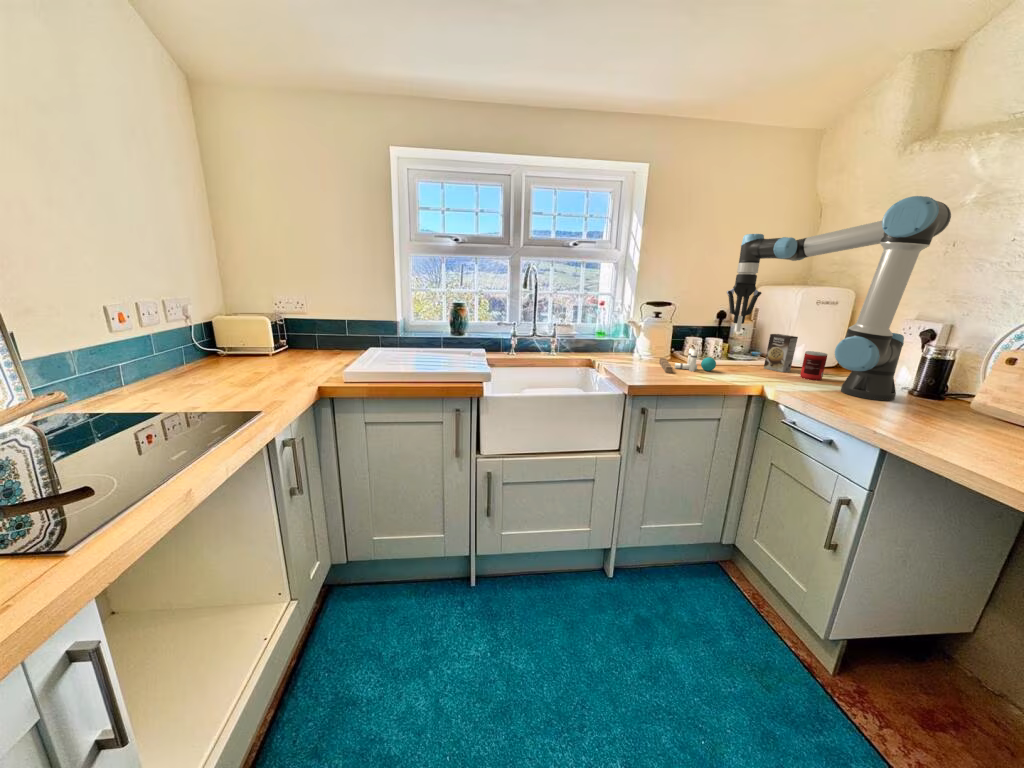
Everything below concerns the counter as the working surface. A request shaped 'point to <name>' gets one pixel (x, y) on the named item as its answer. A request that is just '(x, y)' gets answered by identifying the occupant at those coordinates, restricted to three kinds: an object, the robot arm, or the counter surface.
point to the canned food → (813, 365)
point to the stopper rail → (665, 365)
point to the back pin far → (689, 355)
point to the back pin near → (693, 360)
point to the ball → (708, 364)
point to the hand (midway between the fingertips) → (737, 331)
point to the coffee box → (780, 352)
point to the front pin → (683, 366)
